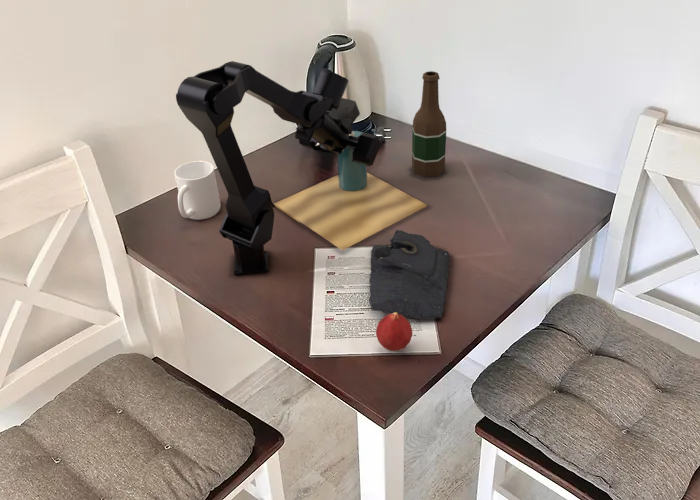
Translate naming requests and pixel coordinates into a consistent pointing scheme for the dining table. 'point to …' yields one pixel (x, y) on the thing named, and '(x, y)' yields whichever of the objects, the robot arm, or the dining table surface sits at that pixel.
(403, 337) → the onion
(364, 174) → the pot
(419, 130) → the beer bottle
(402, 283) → the dark slate chunk
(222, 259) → the dining table surface
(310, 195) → the mat
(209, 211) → the cup
